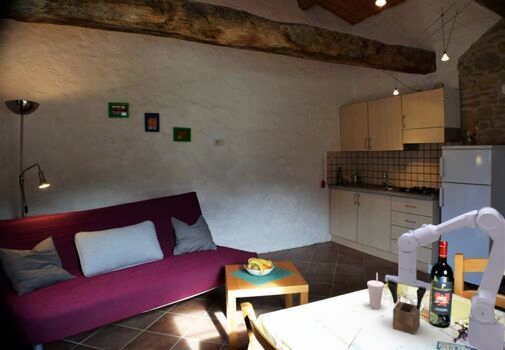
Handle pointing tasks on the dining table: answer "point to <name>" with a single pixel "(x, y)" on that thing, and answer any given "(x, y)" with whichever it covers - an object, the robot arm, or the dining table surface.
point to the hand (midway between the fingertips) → (406, 305)
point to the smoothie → (375, 292)
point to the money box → (406, 317)
